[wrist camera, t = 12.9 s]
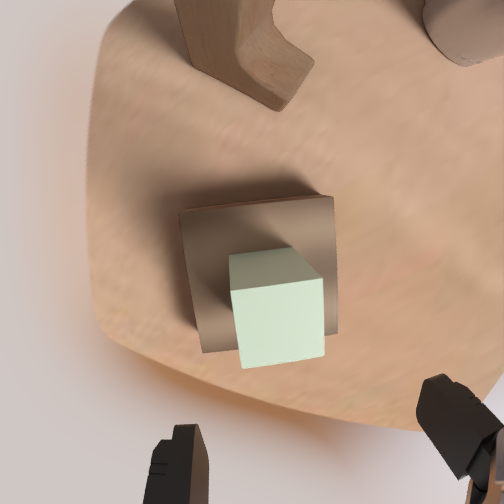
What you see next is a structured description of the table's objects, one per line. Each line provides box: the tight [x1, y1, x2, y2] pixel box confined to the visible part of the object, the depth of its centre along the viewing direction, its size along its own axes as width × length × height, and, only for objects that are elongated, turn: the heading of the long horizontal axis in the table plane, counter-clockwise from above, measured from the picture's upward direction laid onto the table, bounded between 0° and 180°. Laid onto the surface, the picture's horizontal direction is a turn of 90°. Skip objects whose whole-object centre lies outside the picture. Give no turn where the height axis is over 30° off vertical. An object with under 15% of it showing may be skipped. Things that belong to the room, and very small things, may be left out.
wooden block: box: [174, 0, 314, 112], centre depth 15 cm, size 9×4×18 cm, turn 59°
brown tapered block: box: [179, 194, 338, 353], centre depth 27 cm, size 12×12×4 cm
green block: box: [229, 247, 324, 369], centre depth 21 cm, size 5×5×8 cm
